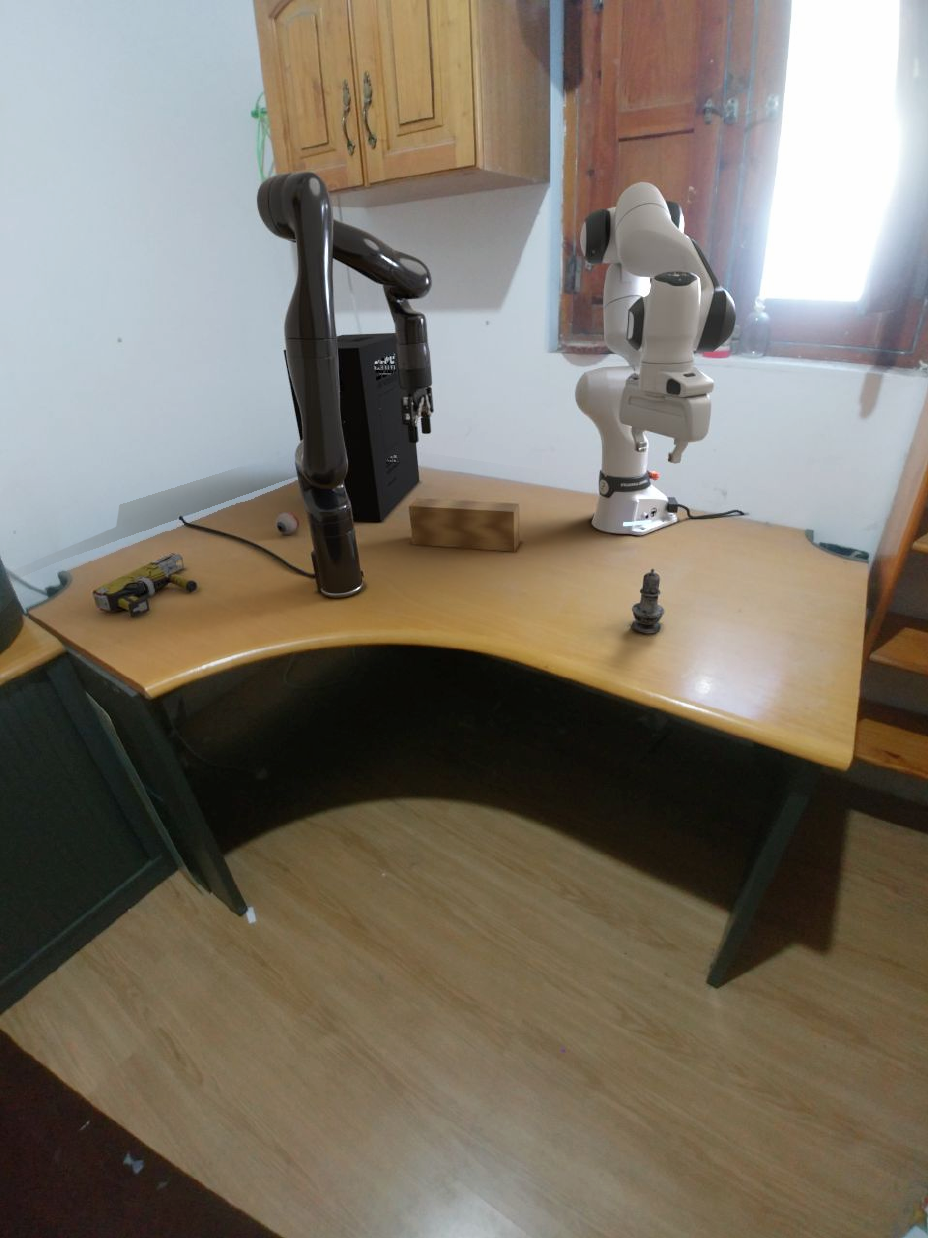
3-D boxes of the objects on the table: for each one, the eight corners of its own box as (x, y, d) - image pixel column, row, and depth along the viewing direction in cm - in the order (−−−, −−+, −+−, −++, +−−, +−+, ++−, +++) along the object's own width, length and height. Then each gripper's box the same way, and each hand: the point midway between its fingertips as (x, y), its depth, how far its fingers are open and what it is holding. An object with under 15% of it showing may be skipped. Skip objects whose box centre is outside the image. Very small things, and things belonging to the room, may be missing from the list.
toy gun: (221, 561, 143) (169, 550, 147) (142, 604, 123) (85, 590, 127) (223, 579, 146) (173, 568, 149) (147, 624, 125) (91, 610, 129)
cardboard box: (380, 521, 169) (358, 347, 147) (314, 519, 174) (283, 350, 151) (419, 480, 201) (406, 332, 178) (362, 479, 205) (342, 334, 183)
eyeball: (273, 537, 164) (268, 516, 161) (287, 528, 169) (282, 508, 166) (291, 539, 161) (286, 518, 158) (305, 530, 166) (301, 510, 163)
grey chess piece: (663, 635, 111) (671, 576, 105) (630, 633, 112) (636, 575, 106) (661, 619, 116) (668, 562, 110) (629, 617, 117) (635, 561, 111)
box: (519, 542, 152) (519, 503, 147) (514, 551, 147) (513, 511, 142) (420, 535, 160) (416, 498, 154) (412, 544, 155) (408, 505, 150)
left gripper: (410, 360, 142) (416, 430, 150) (385, 369, 130) (394, 445, 138) (440, 359, 140) (444, 431, 148) (418, 369, 128) (424, 445, 136)
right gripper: (613, 373, 113) (608, 447, 120) (692, 387, 97) (681, 472, 104) (640, 369, 115) (634, 442, 122) (722, 383, 99) (709, 466, 106)
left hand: (420, 437), depth 143 cm, fingers open, 8 cm apart
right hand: (656, 456), depth 113 cm, fingers open, 8 cm apart
